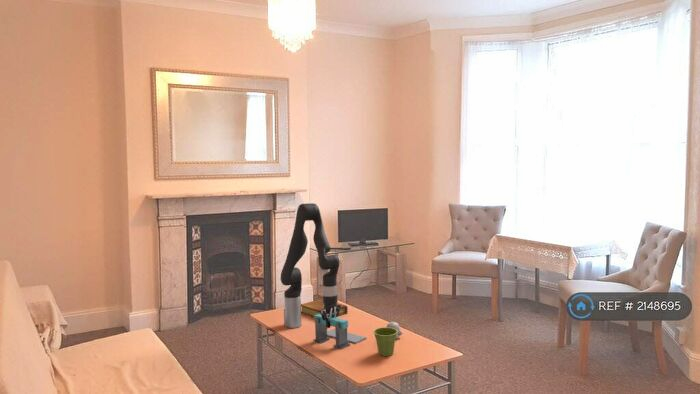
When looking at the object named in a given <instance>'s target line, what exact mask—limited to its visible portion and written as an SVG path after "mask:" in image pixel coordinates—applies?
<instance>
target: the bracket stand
mask: <svg viewBox="0 0 700 394" xmlns="http://www.w3.org/2000/svg"><path fill="white" fill-rule="evenodd" d="M314 325H315V326H314V328H315V335H314V336H315V339H313V343H318V344H319V345H320V344H323V343H325V342H327V341H330V337H328V336H327V332H328V328H327V327H326V325H325V324H321V323H320V319H318V318H315V322H314ZM334 329H335V331H336V338H335V344H333V348H335V349H338V350H343V349H345V348H347V347H350V346H351V342H347V333H348V328H345V329H341V328H340V324H339V323H335V327H334Z"/></svg>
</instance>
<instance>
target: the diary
mask: <svg viewBox="0 0 700 394" xmlns="http://www.w3.org/2000/svg"><path fill="white" fill-rule="evenodd" d="M336 304H337V305H340V306H341V307H340V312H339V316H338V317H341V316H345V315H347V314H348V311H349V309H348V306H347V305H345V304H342V303H338V302H337V303H336ZM323 309H324V303H323V298H321V299H316V300H313V301H308V302H304V303H301V314H304V315H307V316H309V317H312V318H314V315H317V314H321V313H320V310H323ZM336 314H337V312H336ZM328 315H329V314H328Z"/></svg>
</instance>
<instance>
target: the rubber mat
mask: <svg viewBox="0 0 700 394" xmlns="http://www.w3.org/2000/svg"><path fill="white" fill-rule="evenodd" d="M327 337H328V338H333V339H336V331H335V328H334V329H331V330H329V331H328V330H327ZM364 340H365V341H366V340H367V337H366V336H364V335H363V336H362V335H359V334H354V333H351V332H347V343H350V344H355V345H356V344H358V343H361V342H363V341H364Z"/></svg>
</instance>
